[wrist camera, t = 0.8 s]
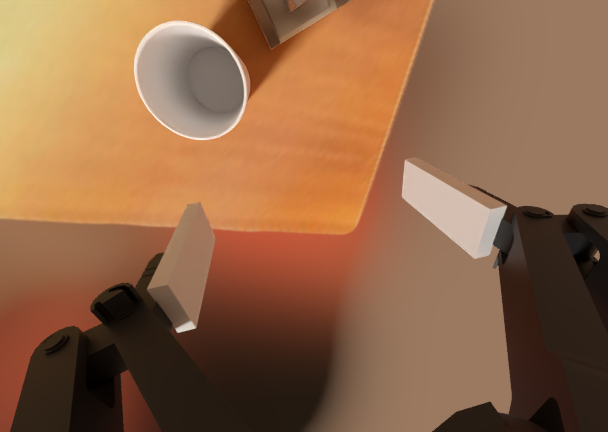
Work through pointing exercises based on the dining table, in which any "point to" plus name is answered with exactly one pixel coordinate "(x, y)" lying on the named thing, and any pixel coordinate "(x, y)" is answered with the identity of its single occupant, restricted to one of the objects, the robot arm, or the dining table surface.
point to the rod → (295, 4)
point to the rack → (289, 17)
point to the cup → (191, 80)
